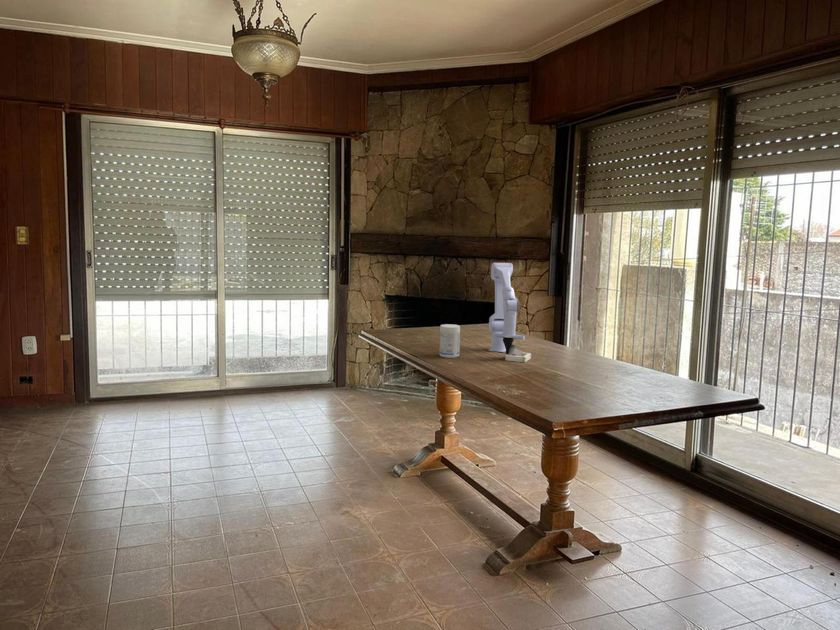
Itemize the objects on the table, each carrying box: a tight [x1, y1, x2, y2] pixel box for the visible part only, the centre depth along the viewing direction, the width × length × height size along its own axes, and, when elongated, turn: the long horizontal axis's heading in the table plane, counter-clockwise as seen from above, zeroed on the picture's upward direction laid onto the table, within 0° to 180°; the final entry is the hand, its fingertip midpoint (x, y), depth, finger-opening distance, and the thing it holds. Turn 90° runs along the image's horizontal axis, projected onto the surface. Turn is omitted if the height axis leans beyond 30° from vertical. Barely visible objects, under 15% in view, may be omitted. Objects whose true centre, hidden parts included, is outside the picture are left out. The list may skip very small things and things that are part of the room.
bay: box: [505, 352, 532, 363], centre depth 299 cm, size 11×9×2 cm
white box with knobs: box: [504, 343, 524, 356], centre depth 300 cm, size 7×5×6 cm
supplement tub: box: [438, 323, 461, 359], centre depth 300 cm, size 10×10×15 cm
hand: (508, 353), depth 299 cm, fingers closed, pressing on white box with knobs
